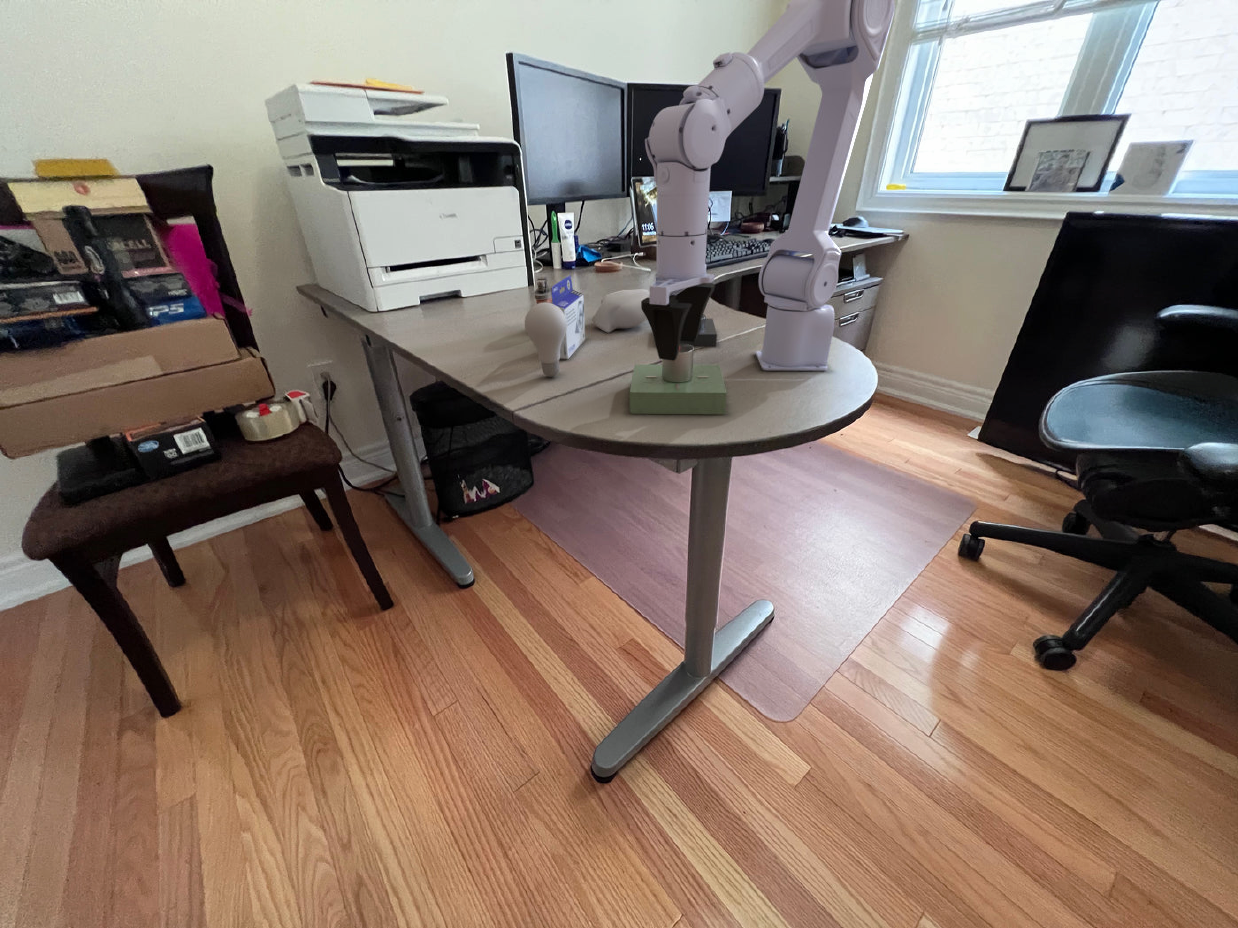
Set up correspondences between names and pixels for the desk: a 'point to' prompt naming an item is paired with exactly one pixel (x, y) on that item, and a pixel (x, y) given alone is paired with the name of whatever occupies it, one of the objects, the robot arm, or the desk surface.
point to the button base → (705, 334)
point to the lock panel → (677, 392)
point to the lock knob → (679, 365)
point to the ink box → (570, 315)
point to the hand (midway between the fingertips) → (678, 349)
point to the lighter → (543, 290)
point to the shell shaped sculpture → (621, 310)
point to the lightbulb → (547, 334)
